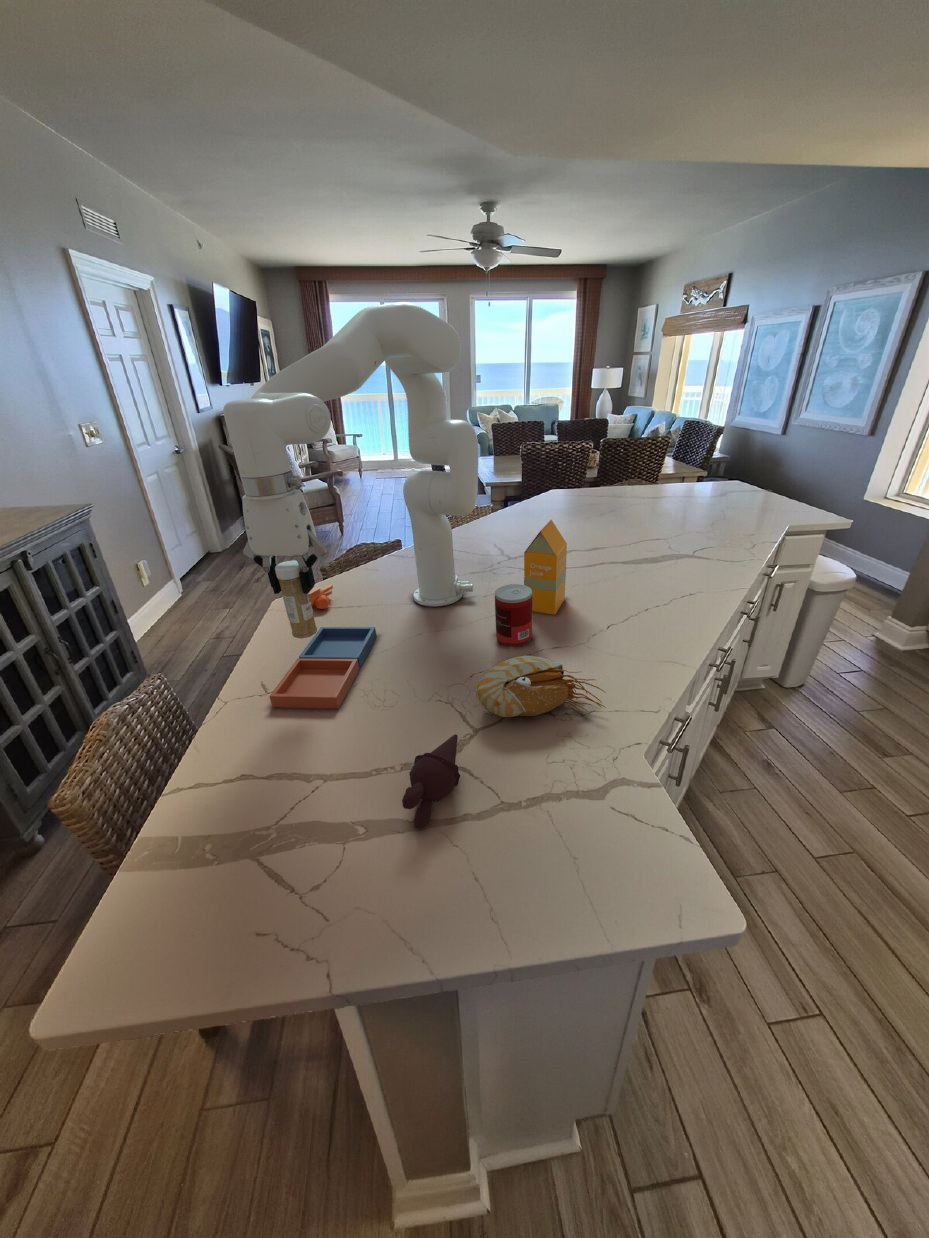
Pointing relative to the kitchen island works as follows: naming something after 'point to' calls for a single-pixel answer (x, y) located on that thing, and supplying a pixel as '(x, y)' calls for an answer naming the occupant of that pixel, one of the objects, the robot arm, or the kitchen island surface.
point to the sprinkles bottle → (295, 600)
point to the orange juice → (546, 569)
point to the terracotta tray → (315, 683)
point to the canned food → (513, 614)
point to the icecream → (432, 780)
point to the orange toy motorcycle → (320, 596)
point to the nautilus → (528, 687)
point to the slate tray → (341, 643)
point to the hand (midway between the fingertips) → (294, 589)
